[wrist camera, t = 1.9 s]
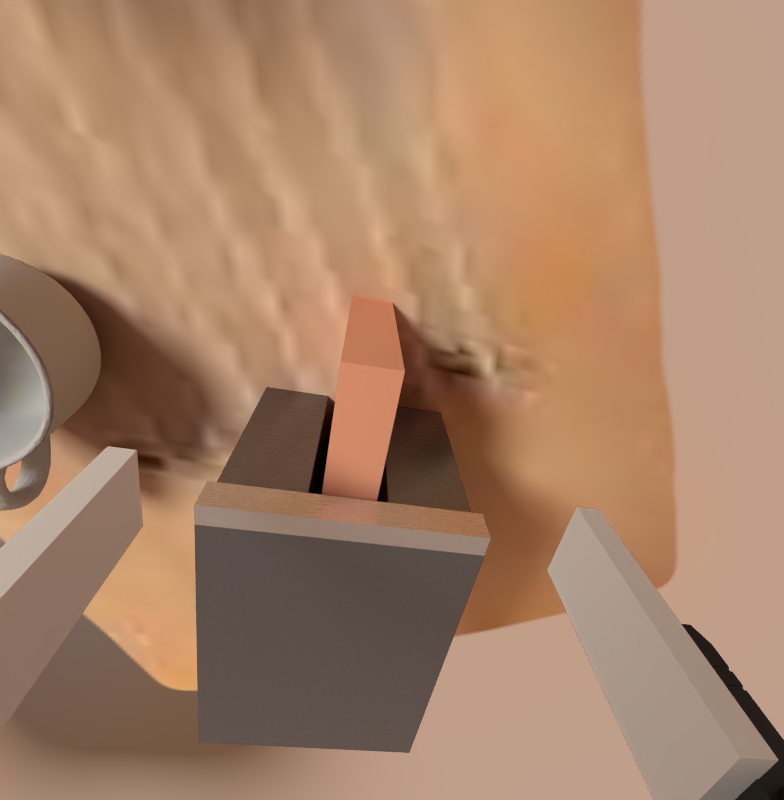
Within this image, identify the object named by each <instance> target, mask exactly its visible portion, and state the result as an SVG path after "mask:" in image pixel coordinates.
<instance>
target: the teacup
mask: <svg viewBox="0 0 784 800" xmlns="http://www.w3.org/2000/svg"><path fill="white" fill-rule="evenodd" d="M100 368H101V351H100V345H99V341H98V337H97V334H96V331H95V329H94V326H93V325H92V323H91V321H90V319H89V317H88V315H87V314H86V312H85V311H84V309H83V308H82V307H81V305H80V304H79V303H78V302H77V301H76V299H75V298H74V297H73V296H72V295H71V294H70V293H69V292H68V291H67V290H66V289H64V288H63V287H62V286H61V285H60V284H59V283H58V282H56V281H55V280H54V279H52V278H51V277H49V276H48V275H46V274H45V273H43V272H41V271H40V270H38V269H36V268H34V267H33V266H30V265H28V264H26V263H24V262H22V261H20V260H17V259H14V258H12V257H9V256H5V255H2V254H0V511H1V510H12V509H17V508H20V507H23V506H25V505H27V504H29V503H30V502H32V501H33V500H34V499H35V498H36V497H38V496H39V494H40V493H41V491H42V490H43V488H44V486H45V484H46V482H47V478H48V475H49V470H50V463H51V447H50V434H51V433H52V432H54V431H55V430H56V429H57V428H58V427H60V426H61V425H62V424H63V423H64V422H65V421H67V420H68V419H69V418H70V417H71V416H72V415H73V414H74V413H75V412H76V411H77V410H78V409H79V408H80V407H81V406H82V405H83V404H84V403H85V402H86V400H87V399H88V398H89V396H90V395H91V393H92V391H93V389H94V387H95V385H96V383H97V380H98V377H99V373H100ZM21 460H22V463H21V470H20V473H19V477H18V479H17V482H16V484H15V486H14V487H13V488H12V490H11V491H10V492H9V490H8V488H7V487H6V483H5V473H6V469H7V467H8V466H11V465H13V464H15V463H17V462H19V461H21Z"/></svg>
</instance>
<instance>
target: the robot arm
mask: <svg viewBox="0 0 784 800" xmlns="http://www.w3.org/2000/svg"><path fill="white" fill-rule="evenodd" d="M142 526H143V520H142V508H141V495H140V482H139V470H138V457H137V450H133V449H125V448H118V447H110V446H108V447H106V448H105V449H104V450H103V451H102V452H101V453H100V454H99V455H98V456H97V457H96V458H95V459H94V460H93V461H92V462H91V463H90V464H89V465H88V466H87V467H85V468H84V469H83V470H82V471H81V472H80V473H79V474H78V475H77V476H76V477H75V478H74V479H73V480H72V481H71V482H70V483H69V484H68V485H67V486H66V487H64V488H63V489H62V490H61V491H60V492H59V493H58V494H57V495H56V496H55V497H54V498H53V499H52V500H51V501H50V502H49V503H48V504H47V505H46V506H45V507H43V508H42V509H41V510H40V511H39V512H38V513H37V514H36V515H35V516H34V517H33V518H32V519H31V520H30V521H29V522H28V523H27V524H26V525H25V526H24V527H22V528H21V529H20V530H19V531H18V532H17V533H16V534H15V535H14V536H13V537H12V538H11V539H10V540H9V541H8V542H7V543H6V544H5V545H4V546H3V547H1V549H0V731H1V730H2V729H3V727H4V725H5V724H6V723H7V721H8V720H9V718H10V717H11V716H12V714H13V713H14V711H15V710H16V708H17V707H18V705H19V704H20V703H21V701H22V699H23V698H24V697H25V695H26V694H27V692H28V691H29V690H30V688H31V687H32V685H33V684H34V682H35V681H36V679H37V678H38V677H39V675H40V674H41V672H42V671H43V669H44V668H45V666H46V665H47V664H48V662H49V661H50V659H51V658H52V656H53V655H54V653H55V652H56V651H57V649H58V648H59V646H60V645H61V643H62V642H63V640H64V639H65V638H66V636H67V635H68V633H69V632H70V630H71V629H72V627H73V626H74V624H75V623H76V622H77V620H78V619H79V617H80V616H81V614H82V613H83V612H84V610H85V609H86V607H87V606H88V604H89V603H90V601H91V600H92V599H93V597H94V596H95V594H96V593H97V591H98V590H99V588H100V587H101V586H102V584H103V583H104V581H105V580H106V578H107V577H108V576H109V574H110V573H111V571H112V570H113V568H114V567H115V565H116V564H117V563H118V561H119V560H120V558H121V557H122V555H123V554H124V552H125V551H126V550H127V548H128V547H129V545H130V544H131V542H132V541H133V539H134V538H135V537H136V535H137V534H138V532H139V531H140V529H141V528H142ZM547 571H548V573H549V575H550V577H551V580H552V582H553V584H554V586H555V588H556V590H557V593H558V595H559V597H560V599H561V601H562V603H563V605H564V608H565V610H566V612H567V614H568V616H569V618H570V620H571V623H572V625H573V627H574V629H575V631H576V633H577V636H578V638H579V640H580V642H581V644H582V646H583V648H584V651H585V653H586V655H587V657H588V660H589V661H590V664H591V666H592V668H593V670H594V672H595V675H596V677H597V679H598V681H599V683H600V685H601V688H602V690H603V692H604V694H605V696H606V698H607V700H608V703H609V705H610V707H611V709H612V711H613V714H614V716H615V718H616V720H617V722H618V724H619V727H620V729H621V731H622V733H623V735H624V737H625V740H626V742H627V744H628V746H629V748H630V750H631V752H632V755H633V756H634V759H635V761H636V763H637V765H638V767H639V770H640V772H641V774H642V776H643V778H644V781H645V782H646V785H647V787H648V789H649V791H650V794H651V795H652V798H653V800H784V740H783V739H782V737H781V736H780V735H779V733H778V732H777V731H776V729H775V728H774V727H773V725H772V724H771V723H770V721H769V720H768V719H767V717H766V716H765V715H764V713H763V712H762V711H761V709H760V708H759V707H758V705H757V704H756V703H755V701H754V700H753V699H752V697H751V696H750V695H749V693H748V692H747V691H745V690H743V686H742V684H741V683H740V681H739V680H738V679H737V677H736V676H735V675H734V673H733V672H731V671H729V667H728V665H727V664H726V663H725V661H724V660H723V659H722V657H721V656H720V655H719V653H718V652H717V651H716V649H715V648H714V647H713V646H712V644H711V643H710V642H708V641H707V640H706V639H705V638H704V637H703V636H702V635H701V634H700V633H699V632H697V631H696V630H695V629H694V628H693V627H692V626H691V625H686V624H681V623H680V622H679V620H678V619H677V617H676V616H675V615H674V613H673V612H672V610H671V609H670V608H669V606H668V605H667V603H666V602H665V601H664V599H663V598H662V596H661V595H660V594H659V592H658V591H657V589H656V588H655V587H654V585H653V584H652V582H651V581H650V580H649V578H648V577H647V575H646V574H645V573H644V571H643V570H642V568H641V567H640V566H639V564H638V563H637V561H636V560H635V559H634V557H633V556H632V554H631V553H630V552H629V550H628V549H627V548H626V546H625V545H624V543H623V542H622V541H621V539H620V538H619V536H618V535H617V534H616V532H615V531H614V529H613V528H612V527H611V525H610V524H609V522H608V521H607V520H606V518H605V517H604V515H603V514H602V513H601V511H600V510H599V509H591V508H583V507H576V509H575V511H574V514H573V516H572V518H571V520H570V522H569V524H568V526H567V529H566V531H565V533H564V535H563V537H562V539H561V541H560V544H559V546H558V548H557V550H556V552H555V554H554V556H553V559H552V561H551V563H550V565H549V567H548V569H547Z"/></svg>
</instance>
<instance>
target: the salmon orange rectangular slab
mask: <svg viewBox="0 0 784 800" xmlns="http://www.w3.org/2000/svg"><path fill="white" fill-rule="evenodd" d="M404 373H405V369H404V364H403V358H402V352H401V347H400V341H399V336H398V330H397V324H396V319H395V313H394V308H393V303H390V302H384V301H378V300H373V299H367V298H361V297H356V296H352V302H351V307H350V313H349V319H348V324H347V330H346V336H345V341H344V347H343V352H342V358H341V364H340V371H339V378H338V385H337V392H336V399H335V406H334V413H333V420H332V427H331V433H330V440H329V447H328V454H327V461H326V468H325V475H324V482H323V489H322V495H329V496H337V497H345V498H354V499H362V500H370V501H377V498H378V493H379V489H380V484H381V479H382V475H383V470H384V466H385V461H386V456H387V452H388V447H389V443H390V438H391V433H392V429H393V424H394V419H395V415H396V410H397V406H398V401H399V396H400V392H401V387H402V383H403V378H404Z"/></svg>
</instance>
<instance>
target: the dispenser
mask: <svg viewBox="0 0 784 800" xmlns="http://www.w3.org/2000/svg"><path fill="white" fill-rule="evenodd" d="M327 400H328V396H323V395H316V394H309V393H303V392H296V391H289V390H282V389H276V388H269V387H267V388H266V389H265V391H264V393H263V395H262V397H261V399H260V401H259V403H258V405H257V407H256V408H255V410H254V412H253V414H252V416H251V418H250V420H249V422H248V424H247V426H246V428H245V429H244V431H243V433H242V435H241V437H240V439H239V441H238V443H237V445H236V447H235V449H234V450H233V452H232V454H231V456H230V458H229V460H228V462H227V464H226V466H225V468H224V469H223V471H222V473H221V475H220V477H219V479H218V481H217V482H212V481H207V483H206V485H205V487H204V488H203V490H202V492H201V494H200V495H199V497H198V499H197V501H196V503H195V504H194V517H195V571H196V625H197V679H198V730H199V731H198V733H199V742H202V743H223V744H244V745H263V746H284V747H285V746H286V747H305V748H324V749H326V748H327V749H345V750H365V751H386V752H406V753H409V752H410V749H411V747H412V744H413V741H414V739H415V736H416V734H417V731H418V728H419V726H420V723H421V721H422V718H423V715H424V713H425V710H426V707H427V705H428V702H429V700H430V697H431V694H432V692H433V689H434V686H435V684H436V681H437V678H438V676H439V673H440V671H441V668H442V666H443V663H444V660H445V658H446V655H447V652H448V650H449V647H450V645H451V642H452V639H453V637H454V634H455V632H456V629H457V626H458V624H459V621H460V618H461V616H462V613H463V611H464V608H465V605H466V603H467V600H468V598H469V595H470V592H471V590H472V587H473V584H474V582H475V579H476V577H477V574H478V571H479V569H480V566H481V563H482V561H483V558H484V556H485V553H486V550H487V548H488V545H489V543H490V540H491V537H490V534H489V531H488V528H487V525H486V522H485V519H484V516H483V514H479V513H471V510H470V507H469V504H468V500H467V497H466V494H465V491H464V487H463V484H462V481H461V478H460V474H459V471H458V468H457V465H456V461H455V458H454V455H453V451H452V448H451V445H450V442H449V438H448V435H447V432H446V429H445V425H444V422H443V419H442V416H441V413H438V412H431V411H424V410H418V409H411V408H404V407H397V410H396V415H395V419H394V424H393V429H392V433H391V438H390V443H389V447H388V452H387V456H386V461H385V466H384V470H383V475H382V479H381V484H380V489H379V493H378V498H377V501H370V500H362V499H354V498H345V497H337V496H329V495H320V494H315V489H316V482H317V474H318V467H319V459H320V452H321V445H322V437H323V430H324V423H325V415H326V408H327Z"/></svg>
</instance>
